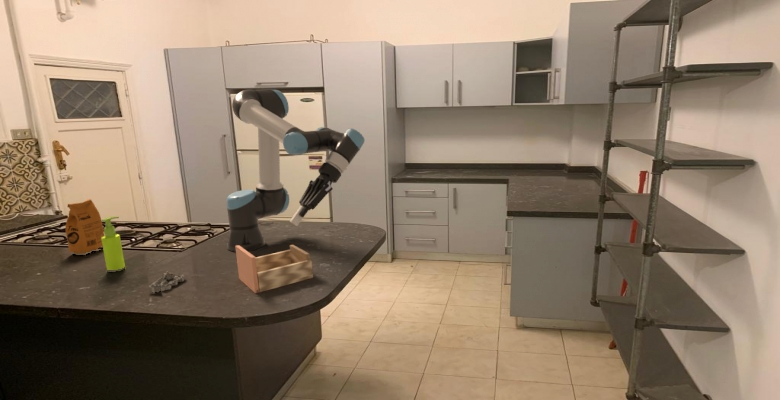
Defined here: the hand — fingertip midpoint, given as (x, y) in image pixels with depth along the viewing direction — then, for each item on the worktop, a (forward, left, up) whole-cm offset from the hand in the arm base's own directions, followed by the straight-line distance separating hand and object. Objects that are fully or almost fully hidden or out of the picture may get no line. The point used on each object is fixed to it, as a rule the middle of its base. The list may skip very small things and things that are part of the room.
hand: (293, 223), depth 150 cm
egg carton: (-36, -22, -19) cm, 46 cm away
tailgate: (-9, -14, -18) cm, 24 cm away
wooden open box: (-4, -5, -19) cm, 20 cm away
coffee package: (-105, -5, -19) cm, 107 cm away
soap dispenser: (-70, -16, -19) cm, 74 cm away
